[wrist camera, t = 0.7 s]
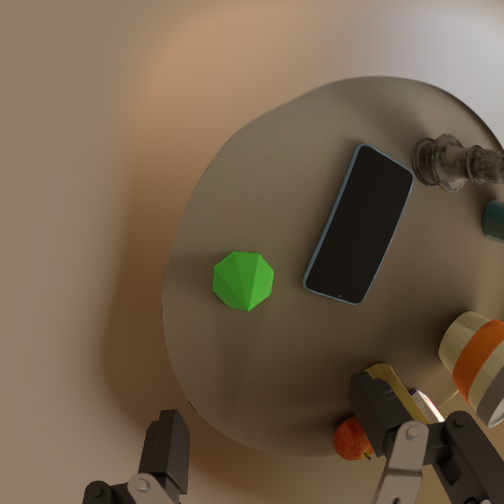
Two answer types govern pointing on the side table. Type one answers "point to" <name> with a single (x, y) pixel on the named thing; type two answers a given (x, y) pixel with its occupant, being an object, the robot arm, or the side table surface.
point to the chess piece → (456, 163)
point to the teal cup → (494, 221)
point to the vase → (397, 389)
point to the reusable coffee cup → (477, 363)
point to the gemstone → (242, 280)
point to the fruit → (352, 440)
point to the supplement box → (426, 407)
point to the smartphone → (359, 226)
